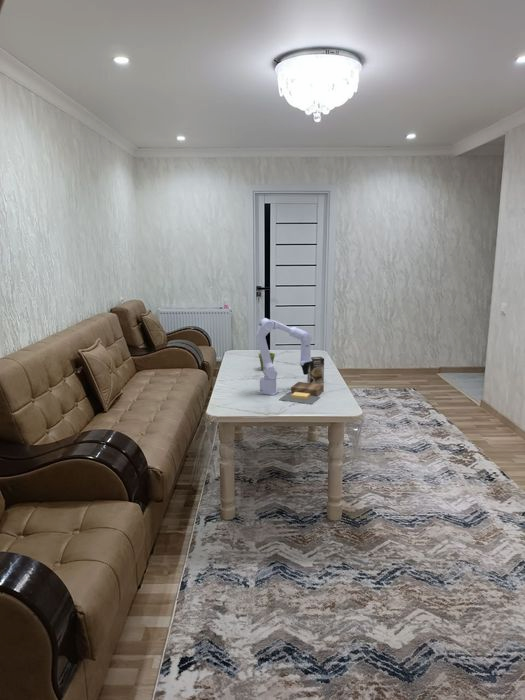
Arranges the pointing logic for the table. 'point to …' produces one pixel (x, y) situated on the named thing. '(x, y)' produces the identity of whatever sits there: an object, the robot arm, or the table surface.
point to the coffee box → (316, 371)
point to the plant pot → (262, 360)
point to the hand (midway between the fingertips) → (305, 374)
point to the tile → (300, 395)
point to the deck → (308, 388)
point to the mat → (309, 400)
